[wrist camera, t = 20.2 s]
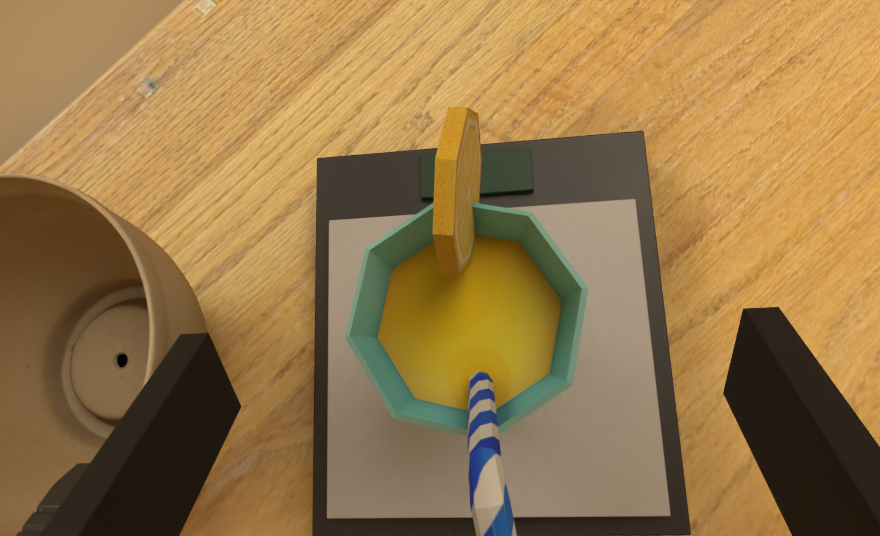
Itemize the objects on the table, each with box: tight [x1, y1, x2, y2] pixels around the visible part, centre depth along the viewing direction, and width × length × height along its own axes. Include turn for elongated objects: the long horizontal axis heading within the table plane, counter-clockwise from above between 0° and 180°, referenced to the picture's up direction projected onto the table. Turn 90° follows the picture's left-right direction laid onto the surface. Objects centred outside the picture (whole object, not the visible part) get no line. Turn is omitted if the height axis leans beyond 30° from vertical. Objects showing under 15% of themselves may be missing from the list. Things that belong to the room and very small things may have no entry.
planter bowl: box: [0, 173, 207, 536], centre depth 28 cm, size 16×16×11 cm
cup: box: [345, 108, 588, 536], centre depth 20 cm, size 14×8×15 cm, turn 11°
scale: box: [313, 131, 691, 536], centre depth 29 cm, size 18×20×4 cm
